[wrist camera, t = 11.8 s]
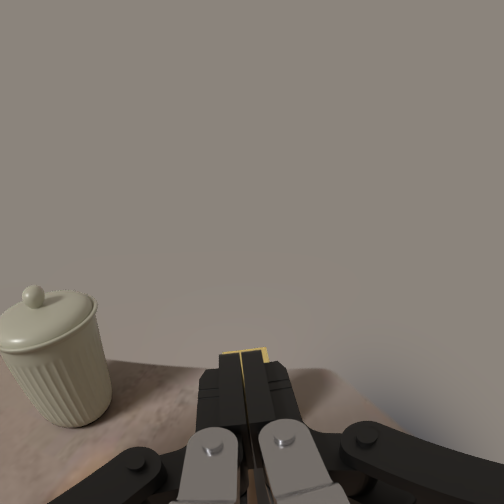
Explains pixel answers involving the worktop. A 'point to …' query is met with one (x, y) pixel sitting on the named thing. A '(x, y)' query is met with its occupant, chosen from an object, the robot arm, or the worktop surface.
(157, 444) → the worktop surface
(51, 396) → the canister
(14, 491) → the worktop surface
